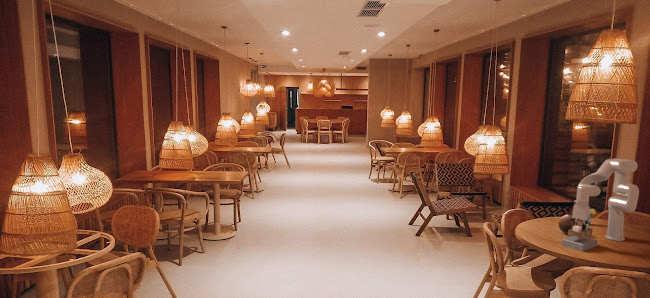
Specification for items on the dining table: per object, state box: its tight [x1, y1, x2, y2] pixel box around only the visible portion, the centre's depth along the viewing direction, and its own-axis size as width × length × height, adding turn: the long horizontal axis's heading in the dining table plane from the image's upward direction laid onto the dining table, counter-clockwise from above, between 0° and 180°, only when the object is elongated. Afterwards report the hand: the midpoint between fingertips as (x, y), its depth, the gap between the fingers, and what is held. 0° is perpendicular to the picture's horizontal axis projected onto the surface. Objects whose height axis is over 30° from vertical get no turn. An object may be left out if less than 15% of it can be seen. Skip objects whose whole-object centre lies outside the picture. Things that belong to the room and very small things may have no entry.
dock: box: [561, 236, 598, 252], centre depth 299 cm, size 20×14×5 cm
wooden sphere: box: [557, 214, 576, 235], centre depth 324 cm, size 15×15×15 cm
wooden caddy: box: [567, 219, 593, 239], centre depth 297 cm, size 17×8×11 cm, turn 123°
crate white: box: [573, 226, 582, 233], centre depth 295 cm, size 4×4×4 cm
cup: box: [587, 208, 597, 226], centre depth 349 cm, size 14×8×15 cm, turn 55°
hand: (580, 228), depth 297 cm, fingers closed on wooden caddy, 3 cm apart
